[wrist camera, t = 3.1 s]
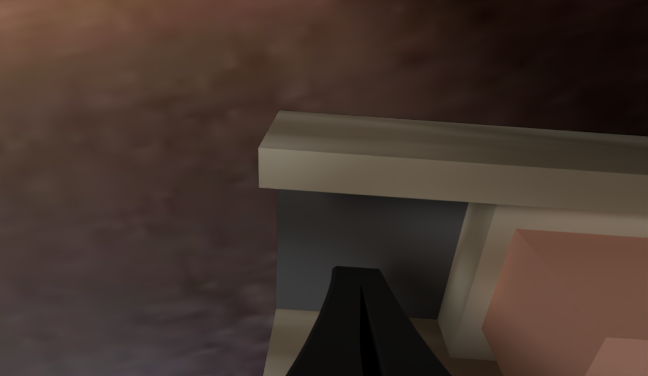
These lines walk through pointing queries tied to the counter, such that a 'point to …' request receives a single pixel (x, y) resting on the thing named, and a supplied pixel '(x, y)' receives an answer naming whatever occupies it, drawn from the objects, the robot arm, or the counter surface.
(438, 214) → the trap lane
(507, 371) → the block
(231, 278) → the counter surface
